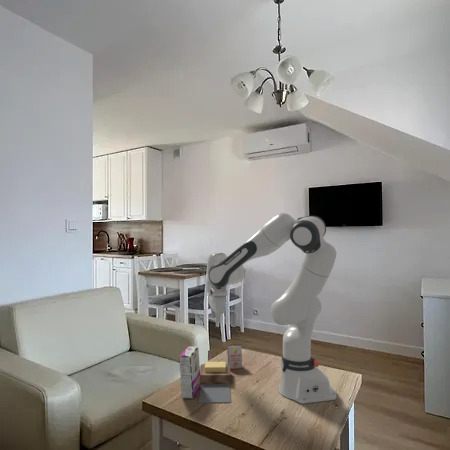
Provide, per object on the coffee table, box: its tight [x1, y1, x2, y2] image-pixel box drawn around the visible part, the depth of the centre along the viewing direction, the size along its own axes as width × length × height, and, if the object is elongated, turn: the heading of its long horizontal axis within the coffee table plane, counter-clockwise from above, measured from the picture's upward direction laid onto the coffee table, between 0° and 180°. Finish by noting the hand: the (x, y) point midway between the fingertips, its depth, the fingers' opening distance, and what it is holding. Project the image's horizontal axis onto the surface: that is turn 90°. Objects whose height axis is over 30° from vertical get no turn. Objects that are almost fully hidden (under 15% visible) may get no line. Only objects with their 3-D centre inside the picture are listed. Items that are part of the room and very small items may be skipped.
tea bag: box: [226, 345, 243, 370], centre depth 155 cm, size 4×7×10 cm, turn 99°
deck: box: [200, 363, 232, 386], centre depth 143 cm, size 13×11×4 cm
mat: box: [198, 384, 232, 404], centre depth 130 cm, size 12×14×1 cm
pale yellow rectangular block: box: [204, 361, 227, 372], centre depth 143 cm, size 9×6×2 cm, turn 92°
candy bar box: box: [178, 345, 201, 400], centre depth 131 cm, size 11×5×16 cm, turn 168°
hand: (215, 318), depth 149 cm, fingers open, 8 cm apart
